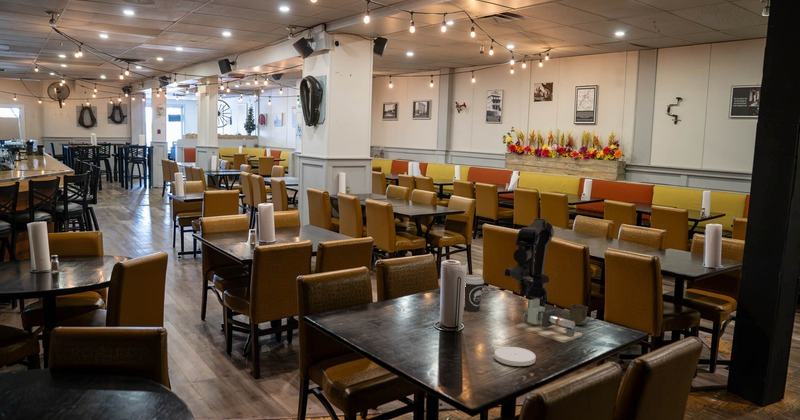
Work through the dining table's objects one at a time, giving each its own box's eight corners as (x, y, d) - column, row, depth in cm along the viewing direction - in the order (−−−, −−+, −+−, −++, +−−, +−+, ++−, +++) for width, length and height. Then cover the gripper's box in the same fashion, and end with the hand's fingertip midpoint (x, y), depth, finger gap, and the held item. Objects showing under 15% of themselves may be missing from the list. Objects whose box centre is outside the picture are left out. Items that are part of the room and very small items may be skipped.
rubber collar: (541, 326, 229) (542, 311, 229) (550, 323, 233) (551, 309, 233) (546, 327, 228) (547, 312, 227) (554, 324, 232) (555, 310, 231)
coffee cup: (482, 307, 262) (483, 275, 260) (483, 313, 253) (484, 280, 251) (461, 306, 263) (462, 274, 261) (461, 312, 254) (462, 279, 252)
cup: (583, 328, 236) (584, 309, 235) (565, 324, 240) (566, 306, 239) (589, 324, 242) (590, 306, 241) (572, 320, 246) (573, 302, 245)
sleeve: (527, 321, 234) (528, 300, 233) (535, 319, 238) (537, 298, 237) (535, 324, 231) (536, 302, 230) (544, 321, 235) (545, 300, 234)
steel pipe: (523, 322, 238) (523, 308, 237) (527, 321, 240) (528, 307, 239) (570, 337, 222) (571, 321, 221) (574, 335, 224) (575, 320, 223)
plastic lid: (515, 372, 189) (516, 364, 189) (485, 358, 201) (486, 351, 200) (543, 363, 198) (544, 356, 197) (513, 350, 209) (513, 344, 209)
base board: (514, 327, 235) (514, 324, 235) (533, 321, 244) (533, 318, 244) (564, 342, 218) (564, 340, 218) (582, 335, 227) (582, 333, 227)
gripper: (496, 257, 238) (495, 293, 240) (534, 265, 224) (532, 304, 226) (513, 254, 245) (511, 289, 247) (550, 262, 232) (548, 299, 233)
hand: (525, 295), depth 238 cm, fingers closed
